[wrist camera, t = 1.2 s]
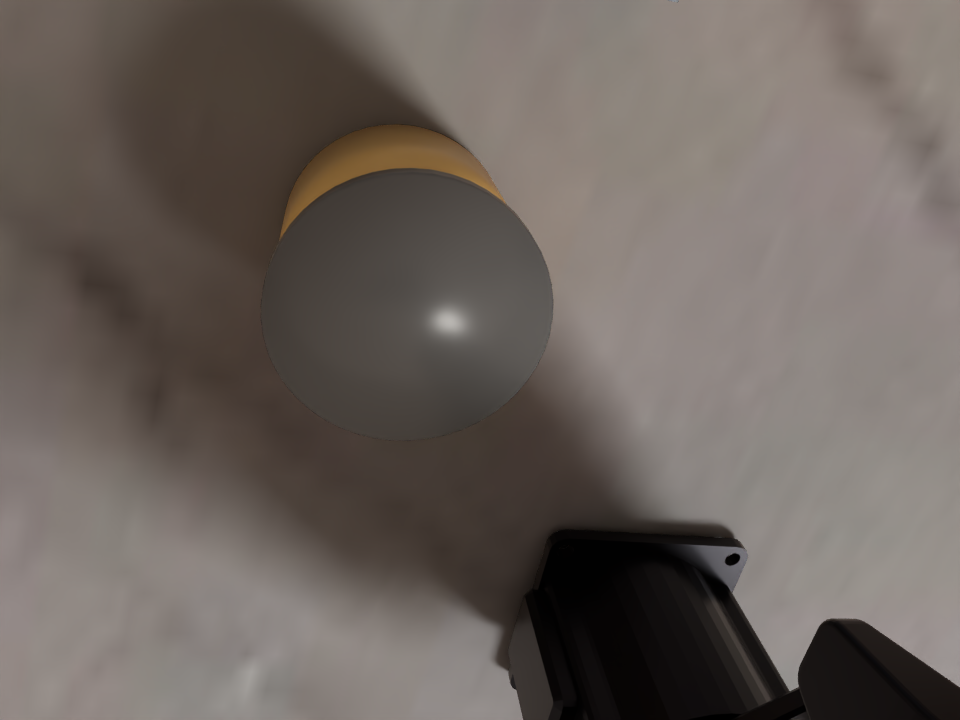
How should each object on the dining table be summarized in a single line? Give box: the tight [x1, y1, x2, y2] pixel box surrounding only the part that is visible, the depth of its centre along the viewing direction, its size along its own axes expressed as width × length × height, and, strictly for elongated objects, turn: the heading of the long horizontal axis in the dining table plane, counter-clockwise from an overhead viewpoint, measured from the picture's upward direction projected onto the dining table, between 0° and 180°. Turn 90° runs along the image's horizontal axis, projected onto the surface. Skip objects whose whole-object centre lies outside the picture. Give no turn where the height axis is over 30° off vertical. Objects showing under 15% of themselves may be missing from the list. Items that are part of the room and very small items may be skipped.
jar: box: [261, 124, 553, 441], centre depth 17 cm, size 5×5×5 cm
